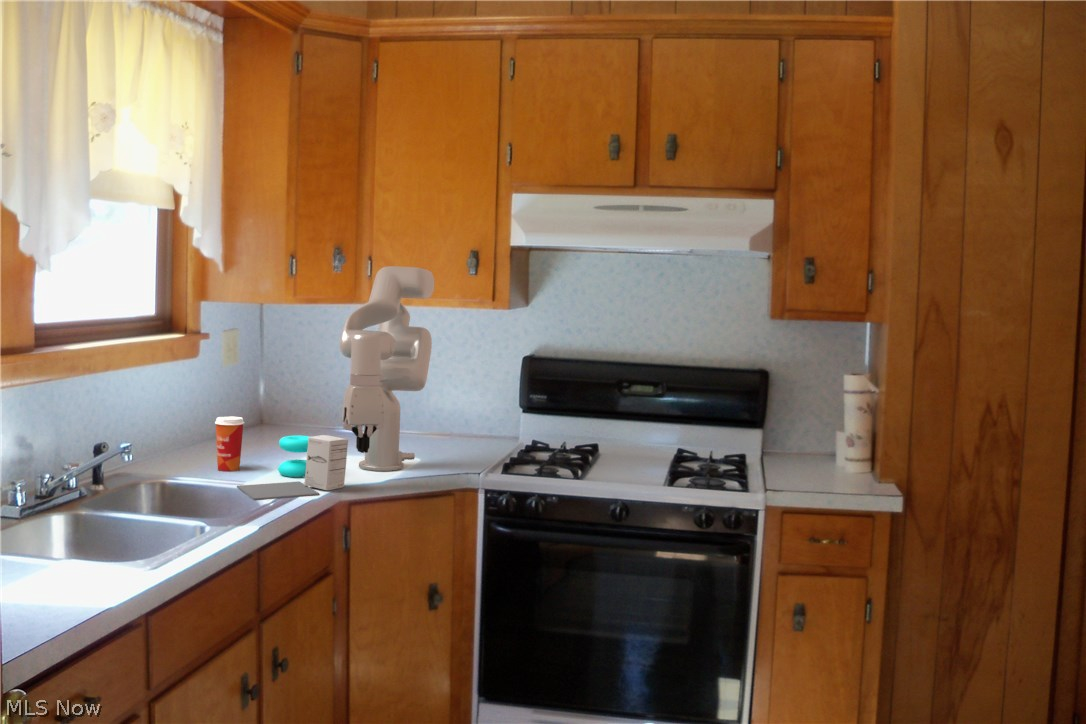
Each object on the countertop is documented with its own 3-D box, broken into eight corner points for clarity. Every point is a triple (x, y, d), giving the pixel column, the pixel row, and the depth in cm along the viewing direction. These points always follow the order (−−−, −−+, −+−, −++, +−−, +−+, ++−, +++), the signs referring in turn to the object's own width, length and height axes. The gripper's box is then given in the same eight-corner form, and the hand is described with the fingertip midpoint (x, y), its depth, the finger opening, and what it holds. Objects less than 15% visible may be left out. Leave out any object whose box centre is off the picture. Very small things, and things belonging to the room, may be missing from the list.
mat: (299, 482, 255) (299, 481, 255) (319, 494, 242) (319, 493, 242) (236, 487, 246) (236, 485, 246) (253, 500, 234) (254, 498, 234)
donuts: (310, 433, 271) (322, 439, 263) (309, 469, 272) (321, 476, 264) (274, 435, 266) (285, 441, 258) (273, 472, 267) (284, 479, 259)
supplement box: (303, 486, 249) (307, 436, 248) (322, 482, 256) (326, 434, 255) (326, 491, 246) (330, 440, 245) (345, 487, 252) (349, 438, 252)
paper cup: (209, 468, 268) (210, 416, 267) (236, 465, 273) (237, 415, 272) (220, 473, 262) (221, 420, 261) (248, 470, 267) (249, 419, 266)
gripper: (386, 379, 261) (383, 448, 263) (332, 379, 253) (329, 450, 255) (398, 382, 255) (395, 452, 256) (342, 383, 247) (340, 455, 248)
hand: (362, 451), depth 255 cm, fingers closed
